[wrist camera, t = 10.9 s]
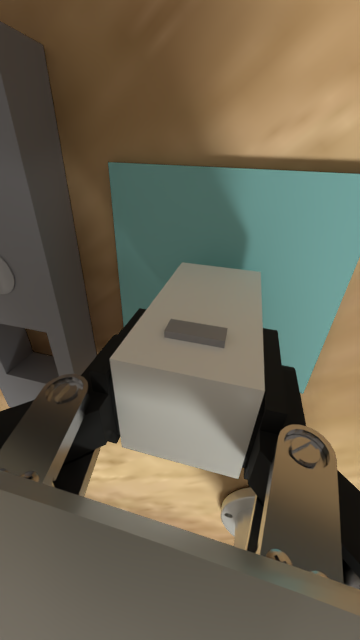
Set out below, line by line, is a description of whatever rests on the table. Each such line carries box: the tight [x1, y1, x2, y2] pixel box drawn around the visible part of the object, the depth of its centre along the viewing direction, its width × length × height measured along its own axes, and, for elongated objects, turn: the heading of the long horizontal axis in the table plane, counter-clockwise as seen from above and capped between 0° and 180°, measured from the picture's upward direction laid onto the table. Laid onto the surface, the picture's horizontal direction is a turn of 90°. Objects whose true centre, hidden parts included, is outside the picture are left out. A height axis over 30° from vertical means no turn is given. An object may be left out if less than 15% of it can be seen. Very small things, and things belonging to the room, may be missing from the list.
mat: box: [108, 162, 360, 393], centre depth 16 cm, size 13×13×1 cm
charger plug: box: [110, 262, 265, 479], centre depth 11 cm, size 4×4×8 cm
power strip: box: [0, 21, 97, 407], centre depth 20 cm, size 33×8×4 cm, turn 178°
